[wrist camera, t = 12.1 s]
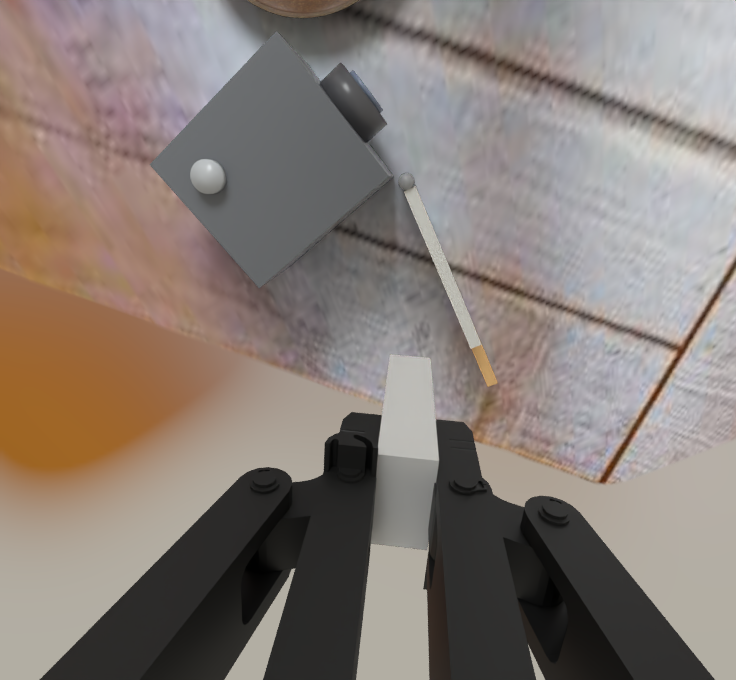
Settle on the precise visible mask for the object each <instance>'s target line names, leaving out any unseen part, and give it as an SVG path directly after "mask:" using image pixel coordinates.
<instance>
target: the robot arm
mask: <svg viewBox="0 0 736 680" xmlns="http://www.w3.org/2000/svg"><path fill="white" fill-rule="evenodd" d="M428 539H429V552H428V559H427V567H426V574H425V582H424V588H423V589H426V590H427V600H428V636H429V676H430V680H536V677H535V673H534V669H533V665H532V660H531V656H530V651H529V647H530V649H531V651H532V653H533V655H534V657H535V659H536V661H537V663H538V665H539V667H540V669H541V671H542V673H543V675H544V678H545V680H714V678H713V677H712V676H711V674H710V673H709V672H708V671H707V669H706V668H705V667H704V666H703V664H702V663H701V662H700V661H699V660H698V658H697V657H696V656H695V655H694V653H693V652H692V651H691V650H690V648H689V647H688V646H687V645H686V643H685V642H684V641H683V640H682V638H681V637H680V636H679V635H678V633H677V632H676V631H675V630H674V629H673V627H672V626H671V625H670V624H669V622H668V621H667V620H666V619H665V617H664V616H663V615H662V614H661V612H660V611H659V610H658V609H657V607H656V606H655V605H654V604H653V603H652V601H651V600H650V599H649V598H648V596H647V595H646V594H645V593H644V592H643V590H642V589H641V588H640V586H639V585H638V584H637V583H636V582H635V580H634V579H633V578H632V577H631V575H630V574H629V573H628V572H627V571H626V570H625V568H624V567H623V565H622V564H621V563H620V562H619V560H618V559H617V558H616V557H615V556H614V554H613V553H612V552H611V551H610V549H609V548H608V547H607V546H606V544H605V543H604V542H603V541H602V540H601V538H600V537H599V536H598V535H597V533H596V532H595V531H594V530H593V528H592V527H591V526H590V525H589V523H588V522H587V521H586V520H585V518H584V517H583V516H582V515H581V514H580V512H578V511H577V510H576V509H575V508H574V507H573V506H571V505H570V504H568V503H566V502H564V501H563V500H560V499H557V498H553V497H549V496H537V497H532V498H530V499H529V500H528V501H526V503H525V507H521V506H518V505H515V504H512V503H509V502H507V501H504V500H502V499H500V498H498V497H497V496H495V495H493V493H492V489H491V487H490V485H489V483H488V482H487V481H485V480H484V479H483V478H482V476H481V470H480V466H479V461H478V457H477V452H476V448H475V443H474V438H473V433H472V431H471V430H470V429H469V428H468V427H467V425H466V424H465V423H464V422H456V421H446V420H436V418H435V406H434V394H433V382H432V370H431V358H425V357H414V356H403V355H393V354H390V357H389V365H388V373H387V380H386V388H385V396H384V403H383V411H382V415H375V414H364V413H355V412H351V413H350V414H349V415H348V416H347V417H345V418H344V419H343V421H342V425H341V428H340V432H339V433H338V434H334V435H333V436H331V437H329V438H328V440H327V441H326V442H325V455H324V473H323V475H321V476H319V477H318V478H315V479H312V480H308V481H302V482H293V483H292V480H291V477H290V476H289V475H288V474H287V473H286V472H284V471H282V470H280V469H277V468H269V467H266V468H257V469H255V470H251V471H249V472H247V473H245V474H244V475H243V476H241V477H240V478H239V479H238V480H237V481H236V482H235V483H234V484H233V485H232V486H231V487H230V488H229V489H228V490H227V491H226V492H225V493H224V494H223V495H222V496H221V497H220V498H219V499H218V500H217V501H216V502H215V503H214V504H213V505H212V506H211V507H210V509H208V510H207V511H206V512H205V513H204V514H203V515H202V516H201V517H200V518H199V519H198V521H196V523H194V525H192V527H190V528H189V530H188V531H187V532H186V533H185V534H184V535H183V536H182V537H181V538H180V539H179V540H178V541H177V542H176V543H175V544H174V545H173V546H172V547H171V548H170V549H169V550H168V551H167V552H166V553H165V554H164V555H163V556H162V557H161V558H160V559H159V560H158V561H157V562H156V563H155V564H154V565H153V566H152V567H151V568H150V569H149V570H148V571H147V572H146V573H145V574H144V575H143V576H142V577H141V578H140V579H139V580H138V581H137V582H136V583H135V584H134V585H133V586H132V587H131V588H130V589H129V590H128V591H127V592H126V593H125V594H124V595H123V596H122V597H121V598H120V599H119V600H118V601H117V602H116V603H115V604H114V605H113V606H112V607H111V608H110V609H109V611H107V612H106V613H105V614H104V615H103V616H102V617H101V618H100V620H98V621H97V622H96V623H95V624H94V626H92V628H91V629H89V630H88V632H87V633H86V634H85V635H84V636H83V637H82V638H81V639H80V640H79V641H78V642H77V643H76V644H75V645H74V646H73V647H72V648H71V649H70V650H69V651H68V652H67V653H66V654H65V655H64V656H63V657H62V658H61V659H60V660H59V661H58V662H57V663H56V664H55V665H54V666H53V667H52V668H51V669H50V670H49V671H48V672H47V673H46V674H45V675H44V676H43V677H42V678H41V679H40V680H224V679H225V678H226V676H227V674H228V673H229V671H230V669H231V668H232V666H233V665H234V663H235V662H236V660H237V658H238V657H239V655H240V653H241V652H242V650H243V649H244V647H245V646H246V644H247V642H248V641H249V639H250V637H251V636H252V634H253V633H254V631H255V630H256V628H257V626H258V625H259V623H260V622H261V620H262V618H263V617H264V615H265V614H266V612H267V610H268V609H269V607H270V606H271V604H272V602H273V601H274V599H275V597H276V596H277V594H278V593H279V591H280V590H281V588H282V586H283V585H284V583H285V582H286V580H287V578H288V577H289V574H290V571H291V569H293V568H296V569H295V572H294V575H293V579H292V582H291V586H290V589H289V593H288V596H287V599H286V603H285V607H284V610H283V613H282V617H281V620H280V623H279V627H278V630H277V634H276V637H275V641H274V645H273V647H272V651H271V655H270V658H269V661H268V665H267V668H266V672H265V675H264V678H263V680H356V674H357V665H358V656H359V647H360V637H361V628H362V620H363V611H364V602H365V592H366V584H367V575H368V566H369V556H370V544H379V545H388V546H396V547H404V548H413V549H422V550H427V547H428ZM528 645H529V647H528Z"/></svg>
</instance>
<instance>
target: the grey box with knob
mask: <svg viewBox="0 0 736 680" xmlns="http://www.w3.org/2000/svg"><path fill="white" fill-rule="evenodd" d="M382 111H383V110H382V108H381V107H380V105H379V104H378V102H377V101H376V99H375V98H374V97H373V95H372V94H371V93H370V91H369V90H368V89H367V87H366V86H365V85H364V83H363V82H362V81H361V79H360V78H359V77H358V75H357V74H356V73H355V72H354V71H353V70H352V71H351V72H350V73H349V72H348V70H347V69H346V68H345V66H344V65H343V64H342V63H340V64H339V65H337V66H336V67H335V68H334V69H333V70H332V71H331V72H330V73H329V74H328V75H327V76H326V77H325V78H324V79H323V80H322V81H320V80H319V78H318V77H317V76H316V74H315V73H314V72H313V71H312V69H311V68H310V67H309V65H308V64H307V63H306V62H305V61H304V60H303V58H302V57H301V56H300V55H299V54H298V53H297V52H296V51H295V50H294V49H293V48H292V47H291V46H290V45H289V43H288V42H287V41H286V40H285V39H284V38H283V37H282V36H281V35H280V34H279V33H278V32H277V31H276V32H275V33H274V34H273V35H272V36H271V37H270V38H269V39H268V40H267V41H266V43H265V44H264V45H263V46H262V47H261V48H260V49H259V50H258V51H257V52H256V53H255V54H254V55H253V56H252V57H251V58H250V59H249V60H248V62H247V63H246V64H245V65H244V66H243V67H242V68H241V69H240V70H239V71H238V72H237V73H236V74H235V75H234V76H233V77H232V78H231V79H230V81H229V82H228V83H227V84H226V85H225V86H224V87H223V88H222V89H221V90H220V91H219V92H218V93H217V94H216V95H215V96H214V97H213V98H212V100H211V101H210V102H209V103H208V104H207V105H206V106H205V107H204V108H203V109H202V110H201V111H200V112H199V113H198V114H197V115H196V116H195V117H194V119H193V120H192V121H191V122H190V123H189V124H188V125H187V126H186V127H185V128H184V129H183V130H182V131H181V132H180V133H179V134H178V135H177V136H176V138H175V139H174V140H173V141H172V142H171V143H170V144H169V145H168V146H167V147H166V148H165V149H164V150H163V151H162V152H161V153H160V154H159V155H158V157H157V158H156V159H155V160H154V161H153V162H152V163H151V164H150V165H151V167H152V168H153V169H154V170H155V171H156V172H157V173H158V174H159V176H160V177H161V178H162V179H163V180H164V181H165V182H166V183H167V185H168V186H169V187H170V188H171V189H172V190H173V191H174V193H175V194H176V195H177V196H178V197H179V198H180V199H181V200H182V202H183V203H184V204H185V205H186V206H187V207H188V208H189V210H190V211H191V212H192V213H193V214H194V215H195V216H196V217H197V219H198V220H199V221H200V222H201V223H202V224H203V225H204V226H205V228H206V229H207V230H208V231H209V232H210V233H211V234H212V236H213V237H214V238H215V239H216V240H217V241H218V242H219V243H220V245H221V246H222V247H223V248H224V249H225V250H226V251H227V253H228V254H229V255H230V256H231V257H232V258H233V259H234V260H235V262H236V263H237V264H238V265H239V266H240V267H241V268H242V269H243V271H244V272H245V273H246V274H247V275H248V276H249V277H250V279H251V280H252V281H253V282H254V283H255V284H256V285H257V286H258V288H260V287H262V286H263V285H265V284H266V283H267V282H269V281H270V280H272V279H273V278H274V277H276V276H277V275H278V274H280V273H281V272H283V271H284V270H285V269H287V268H288V267H289V266H291V265H292V264H293V263H294V262H295V261H296V260H298V259H299V258H300V257H301V256H302V255H303V254H305V253H306V252H307V251H308V250H309V249H310V248H311V247H313V246H314V245H315V244H316V243H317V242H318V241H320V240H321V239H322V238H323V237H324V236H325V235H327V234H328V233H329V232H330V231H331V230H332V229H333V228H335V227H336V226H337V225H338V224H339V223H340V222H342V221H343V220H344V219H345V218H346V217H347V216H349V215H350V214H351V213H352V212H353V211H354V210H356V209H357V208H358V207H359V206H360V205H361V204H362V203H364V202H365V201H366V200H367V199H368V198H369V197H371V196H372V195H373V194H374V193H375V192H376V191H378V190H379V189H380V188H381V187H382V186H383V185H385V184H386V183H387V182H388V181H389V180H390V179H391V178H393V177H394V176H393V175H392V173H391V172H390V171H389V169H388V168H387V167H386V165H385V164H384V163H383V162H382V160H381V159H380V158H379V156H378V155H377V154H376V152H375V151H374V150H373V149H372V147H371V146H370V145H369V143H368V141H369V140H370V139H371V138H372V137H373V136H375V135H376V134H377V133H378V132H379V131H380V130H381V129H382V128H383V127H385V126H386V125H387V123H386V121H385V120H384V119H383V117H382V116H381V114H380V113H381V112H382Z"/></svg>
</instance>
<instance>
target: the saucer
mask: <svg viewBox="0 0 736 680" xmlns="http://www.w3.org/2000/svg"><path fill="white" fill-rule="evenodd" d="M247 1H249V2H250V3H252V4H254V5H255V6H257V7H259V8H261V9H264V10H266V11H268V12H271V13H273V14H277V15H280V16H284V17H291V18H313V17H320V16H325V15H329V14H332V13H335V12H338V11H340V10H343V9H345V8H347V7H349V6H350V5H353V4H354V3H356V2H357V1H359V0H247Z"/></svg>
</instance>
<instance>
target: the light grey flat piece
mask: <svg viewBox="0 0 736 680" xmlns="http://www.w3.org/2000/svg"><path fill="white" fill-rule="evenodd" d="M398 183H399V186H400V187H401V188H402V189H404V190H405V191H404V194H405V196H406V198H407V201H408V203H409V205H410V208H411V210H412V212H413V215H414V217H415V219H416V222H417V224H418V226H419V229H420V231H421V233H422V236H423V238H424V241H425V243H426V245H427V248H428V250H429V252H430V255H431V257H432V259H433V262H434V264H435V266H436V269H437V271H438V273H439V276H440V278H441V280H442V283H443V285H444V287H445V290H446V292H447V294H448V297H449V299H450V302H451V304H452V306H453V309H454V311H455V313H456V316H457V318H458V320H459V323H460V325H461V327H462V330H463V332H464V334H465V337H466V339H467V341H468V344H469V346H470V348H471V349H472V351H473V354H474V356H475V358H476V361H477V363H478V365H479V368H480V370H481V373H482V375H483V377H484V380H485V382H486V384H487V387H489V386H491V385H494V384H497V383H498V382H497V380H496V377H495V375H494V372H493V370H492V368H491V365H490V363H489V360H488V358H487V356H486V353H485V351H484V348H483V346H482V344H481V341H480V339H479V336H478V334H477V332H476V329H475V327H474V324H473V322H472V320H471V317H470V315H469V313H468V310H467V308H466V305H465V303H464V301H463V298H462V296H461V293H460V291H459V289H458V286H457V284H456V281H455V279H454V277H453V274H452V272H451V269H450V267H449V265H448V262H447V260H446V258H445V255H444V253H443V250H442V248H441V246H440V243H439V241H438V238H437V236H436V234H435V231H434V229H433V226H432V224H431V222H430V219H429V217H428V214H427V212H426V210H425V207H424V205H423V202H422V200H421V198H420V195H419V193H418V191H417V188H416V186H415V185H414V177H413V176H412V175H411V174H409V173H404V174H402V175H401V176H400V177H399V180H398ZM413 185H414V186H413Z"/></svg>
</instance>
